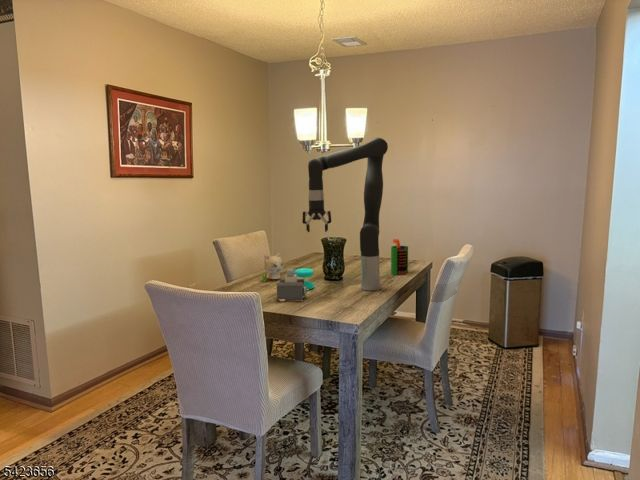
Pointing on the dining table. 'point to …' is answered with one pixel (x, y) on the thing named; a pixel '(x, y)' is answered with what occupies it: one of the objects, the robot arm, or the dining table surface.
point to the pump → (290, 276)
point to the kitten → (273, 266)
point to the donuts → (303, 274)
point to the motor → (399, 259)
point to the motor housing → (291, 290)
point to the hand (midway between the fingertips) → (317, 231)
